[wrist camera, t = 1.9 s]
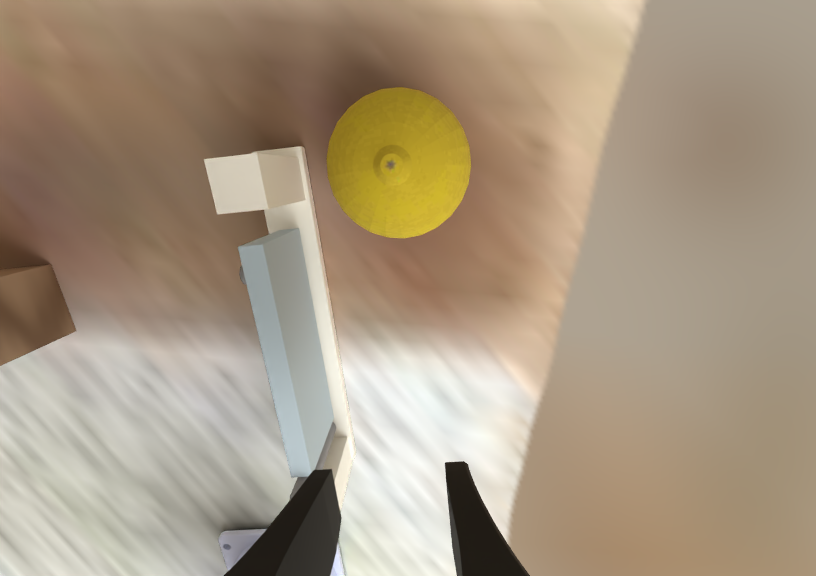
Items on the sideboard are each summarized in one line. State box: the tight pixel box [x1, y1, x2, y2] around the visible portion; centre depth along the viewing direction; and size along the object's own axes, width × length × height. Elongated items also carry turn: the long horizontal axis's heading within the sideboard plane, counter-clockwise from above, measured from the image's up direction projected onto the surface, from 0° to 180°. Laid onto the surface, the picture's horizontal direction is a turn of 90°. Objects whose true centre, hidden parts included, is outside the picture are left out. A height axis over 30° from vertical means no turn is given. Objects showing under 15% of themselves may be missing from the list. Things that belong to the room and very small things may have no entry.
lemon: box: [327, 87, 471, 238], centre depth 15 cm, size 6×6×8 cm
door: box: [238, 228, 336, 500], centre depth 19 cm, size 12×2×5 cm, turn 6°
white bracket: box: [204, 146, 356, 513], centre depth 19 cm, size 18×2×5 cm, turn 6°
